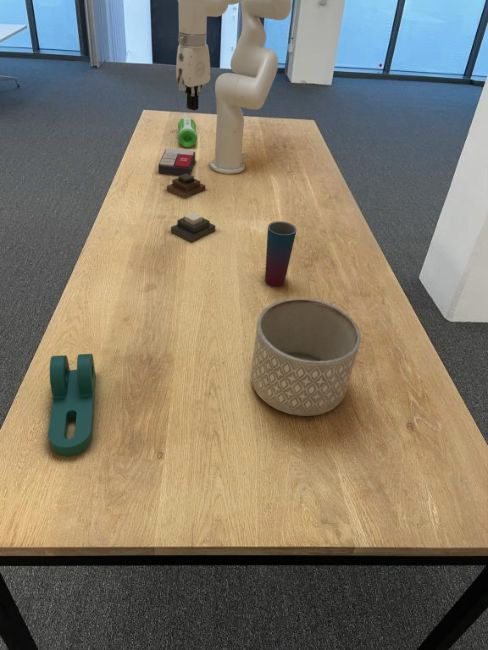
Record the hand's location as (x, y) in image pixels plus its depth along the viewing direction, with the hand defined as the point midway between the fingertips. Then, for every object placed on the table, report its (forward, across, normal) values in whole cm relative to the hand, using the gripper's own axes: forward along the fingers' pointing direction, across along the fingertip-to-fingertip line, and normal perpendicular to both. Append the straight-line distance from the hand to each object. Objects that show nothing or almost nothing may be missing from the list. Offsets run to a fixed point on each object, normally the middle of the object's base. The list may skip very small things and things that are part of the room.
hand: (192, 108), depth 150 cm
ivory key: (+22, -21, -19) cm, 36 cm away
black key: (+23, -2, +1) cm, 23 cm away
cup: (+25, -26, -51) cm, 63 cm away
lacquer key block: (+25, -21, -19) cm, 38 cm away
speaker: (+27, +34, +34) cm, 55 cm away
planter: (+24, -53, -76) cm, 96 cm away
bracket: (+24, -86, -50) cm, 102 cm away
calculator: (+27, +11, +17) cm, 33 cm away
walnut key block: (+26, -2, +1) cm, 26 cm away
